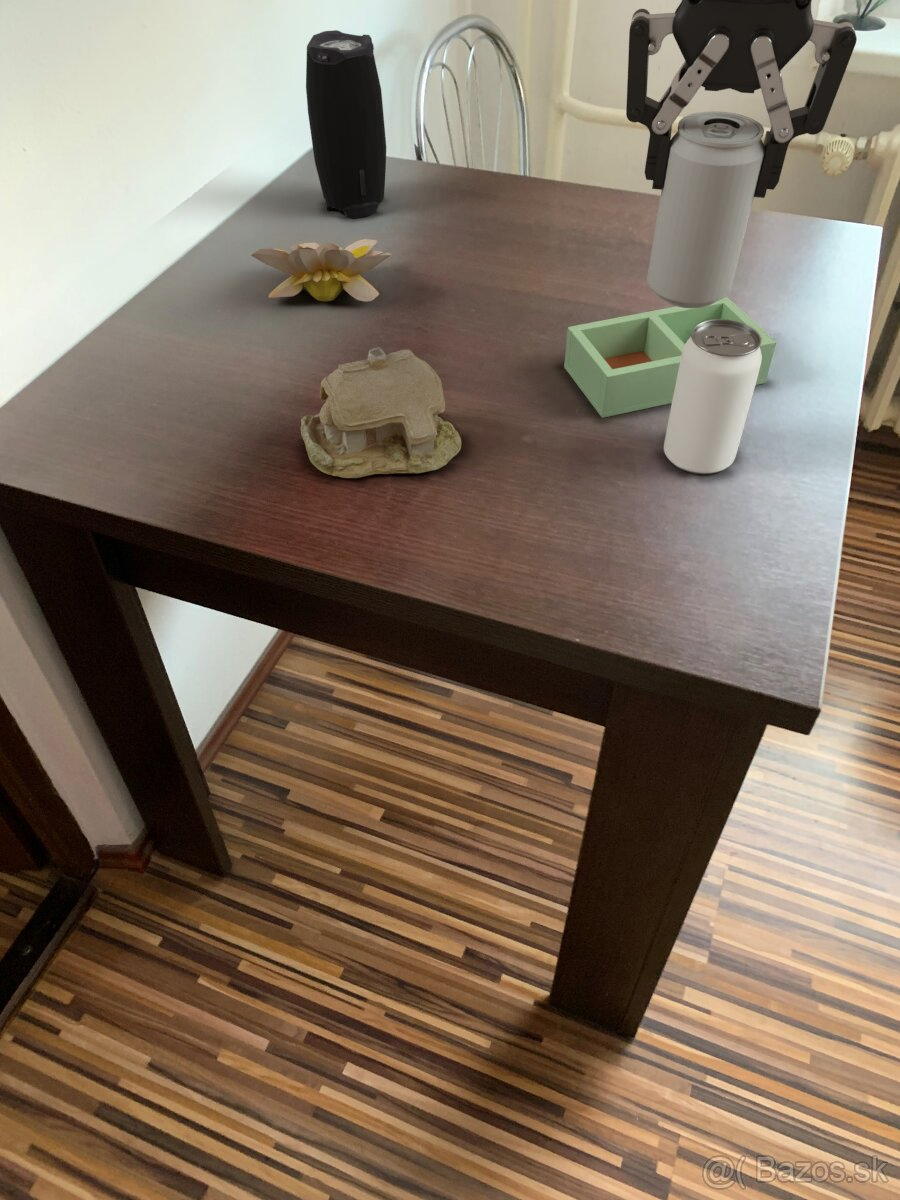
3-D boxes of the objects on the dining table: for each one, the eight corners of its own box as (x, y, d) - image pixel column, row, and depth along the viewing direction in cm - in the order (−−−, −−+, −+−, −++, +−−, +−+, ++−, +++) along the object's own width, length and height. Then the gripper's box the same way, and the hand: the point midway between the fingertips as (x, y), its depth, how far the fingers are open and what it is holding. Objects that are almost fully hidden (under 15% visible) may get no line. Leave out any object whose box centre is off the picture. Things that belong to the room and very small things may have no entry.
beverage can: (733, 278, 69) (774, 113, 60) (724, 319, 65) (765, 148, 56) (652, 266, 71) (680, 103, 62) (638, 305, 67) (665, 137, 58)
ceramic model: (433, 398, 88) (430, 304, 80) (474, 463, 80) (475, 368, 73) (295, 429, 84) (278, 335, 77) (325, 501, 77) (310, 404, 70)
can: (741, 476, 79) (775, 357, 70) (668, 477, 79) (693, 358, 70) (727, 432, 83) (757, 315, 74) (657, 433, 83) (679, 316, 74)
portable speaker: (323, 193, 121) (303, 29, 107) (391, 192, 121) (380, 27, 107) (317, 221, 115) (295, 50, 101) (389, 219, 115) (377, 48, 101)
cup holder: (765, 383, 88) (776, 342, 85) (602, 418, 85) (607, 376, 81) (717, 336, 94) (726, 296, 91) (563, 367, 91) (567, 326, 88)
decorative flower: (407, 252, 105) (392, 175, 96) (395, 320, 100) (379, 245, 91) (286, 256, 107) (261, 182, 99) (268, 323, 102) (240, 250, 93)
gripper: (637, -100, 49) (601, 204, 61) (912, -92, 47) (817, 221, 59) (644, -126, 54) (610, 160, 66) (893, -119, 52) (809, 175, 64)
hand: (708, 188), depth 62 cm, fingers closed on beverage can, 6 cm apart
